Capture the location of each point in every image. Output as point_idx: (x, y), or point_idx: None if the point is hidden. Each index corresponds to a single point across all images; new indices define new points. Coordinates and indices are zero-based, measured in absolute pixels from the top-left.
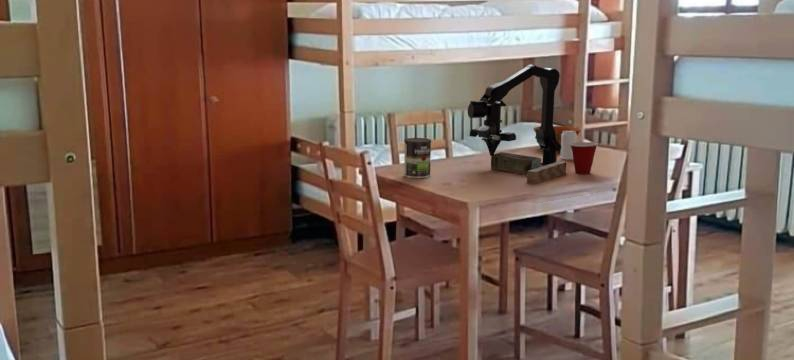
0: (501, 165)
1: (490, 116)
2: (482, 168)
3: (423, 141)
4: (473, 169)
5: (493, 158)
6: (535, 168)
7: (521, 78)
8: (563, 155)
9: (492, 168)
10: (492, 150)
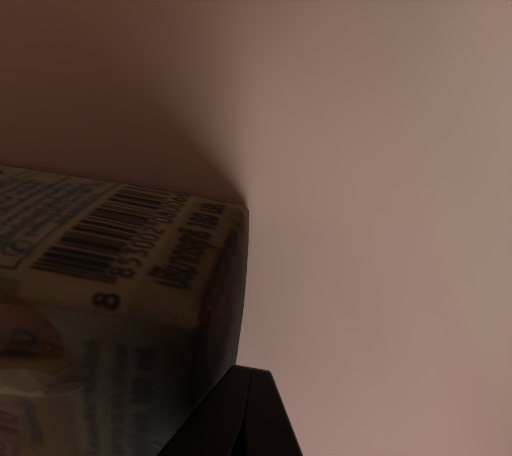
0: (27, 188)
1: None
2: (376, 195)
3: None
4: (490, 46)
5: (156, 266)
6: None
7: None
8: None
9: (218, 202)
10: (176, 450)
